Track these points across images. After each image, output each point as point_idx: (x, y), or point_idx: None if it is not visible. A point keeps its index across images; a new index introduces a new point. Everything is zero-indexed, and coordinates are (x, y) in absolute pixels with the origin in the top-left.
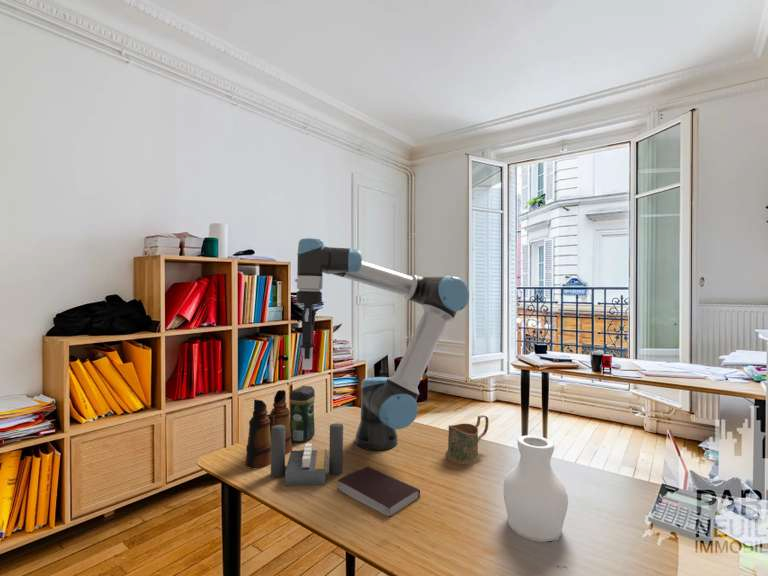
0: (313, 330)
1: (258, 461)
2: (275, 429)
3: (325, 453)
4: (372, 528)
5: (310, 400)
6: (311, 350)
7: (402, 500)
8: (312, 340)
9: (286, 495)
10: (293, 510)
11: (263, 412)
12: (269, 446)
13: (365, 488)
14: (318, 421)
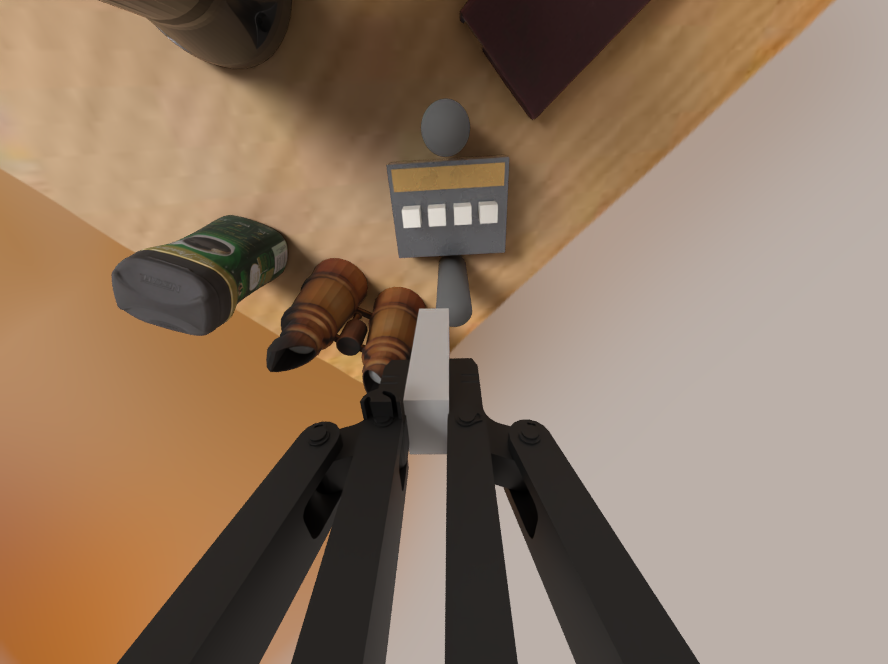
0: (215, 569)
1: None
2: (470, 315)
3: (411, 165)
4: (719, 12)
5: (194, 258)
6: (448, 387)
7: None
8: (369, 453)
9: (536, 234)
10: (593, 211)
11: None
12: (402, 307)
13: (597, 25)
14: (117, 215)
